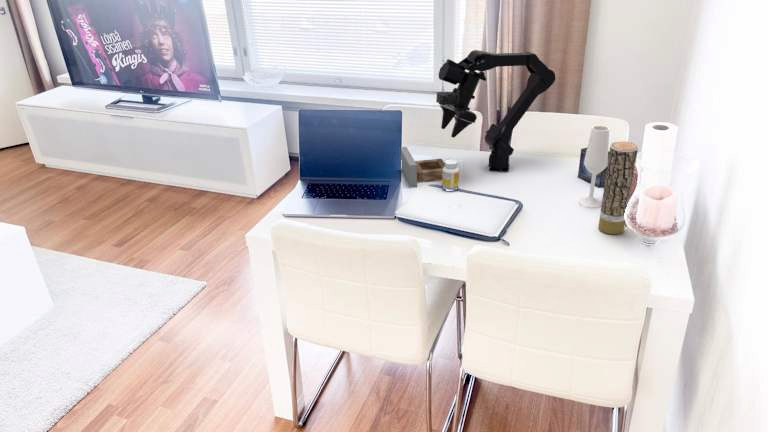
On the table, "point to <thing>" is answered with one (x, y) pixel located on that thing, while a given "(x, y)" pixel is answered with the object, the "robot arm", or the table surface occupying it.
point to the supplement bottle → (450, 174)
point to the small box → (586, 175)
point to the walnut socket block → (429, 170)
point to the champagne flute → (596, 160)
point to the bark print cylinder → (617, 186)
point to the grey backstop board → (409, 167)
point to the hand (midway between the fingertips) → (447, 132)
